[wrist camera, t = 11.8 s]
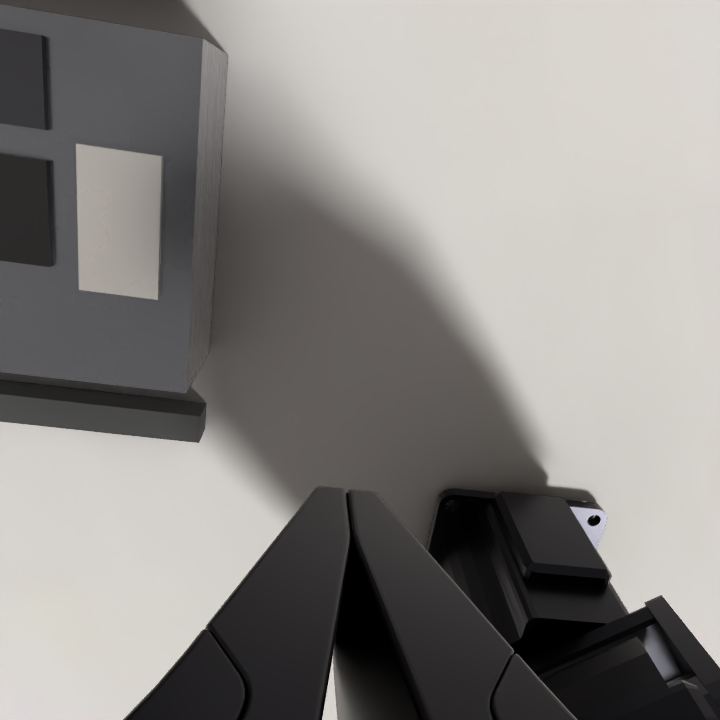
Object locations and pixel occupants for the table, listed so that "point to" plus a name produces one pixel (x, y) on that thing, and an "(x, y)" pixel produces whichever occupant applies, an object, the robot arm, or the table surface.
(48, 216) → the strip
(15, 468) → the table surface
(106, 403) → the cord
